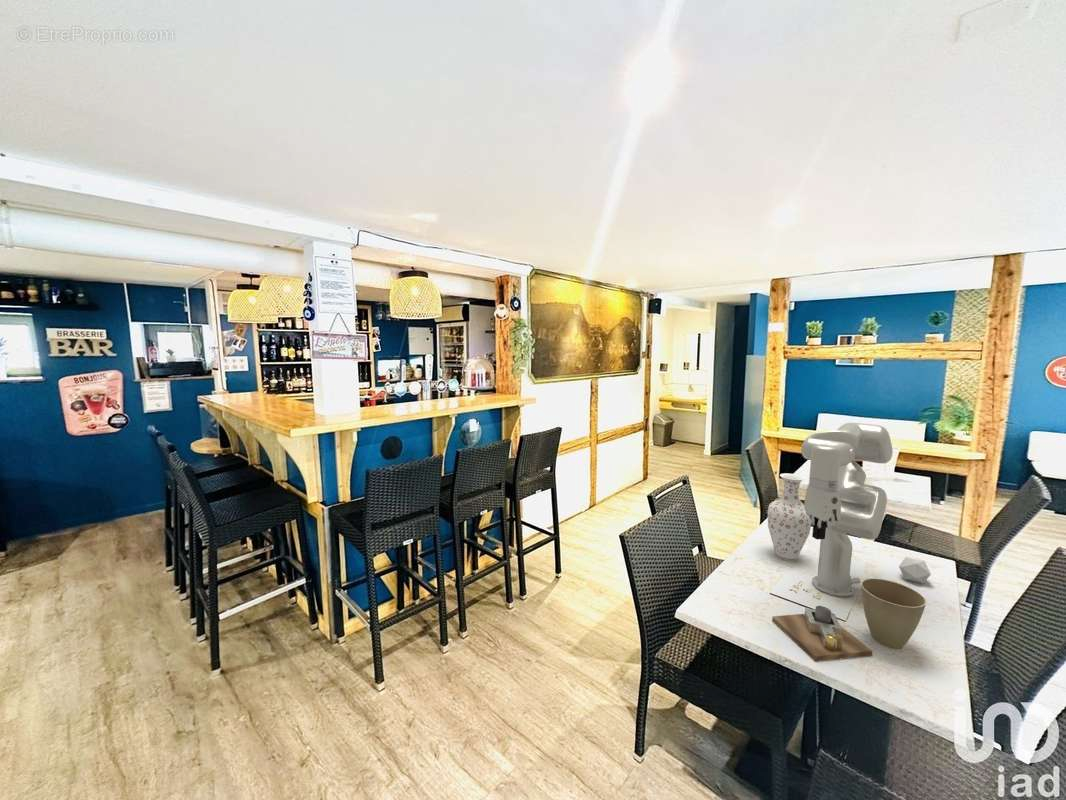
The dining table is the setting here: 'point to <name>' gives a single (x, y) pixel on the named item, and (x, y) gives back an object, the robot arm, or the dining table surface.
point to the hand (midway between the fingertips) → (818, 537)
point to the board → (812, 641)
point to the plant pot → (891, 611)
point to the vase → (789, 520)
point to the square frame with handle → (824, 629)
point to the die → (914, 570)
